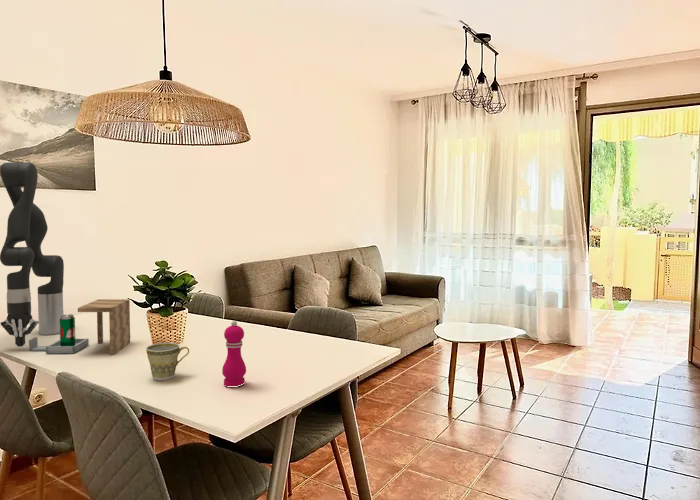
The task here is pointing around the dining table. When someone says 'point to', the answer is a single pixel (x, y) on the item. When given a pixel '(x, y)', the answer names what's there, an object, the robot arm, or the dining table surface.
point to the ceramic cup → (164, 359)
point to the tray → (58, 346)
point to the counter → (112, 321)
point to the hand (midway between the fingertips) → (20, 346)
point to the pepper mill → (234, 356)
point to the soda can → (67, 330)
